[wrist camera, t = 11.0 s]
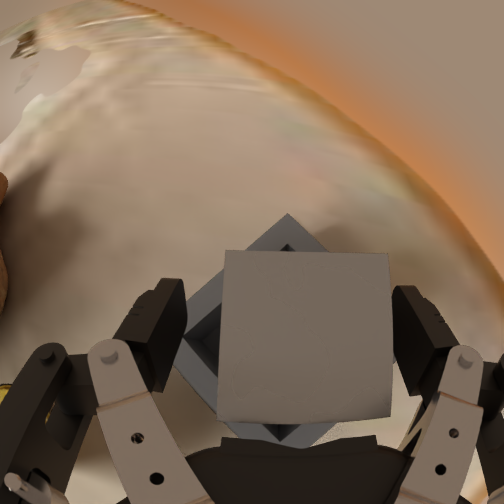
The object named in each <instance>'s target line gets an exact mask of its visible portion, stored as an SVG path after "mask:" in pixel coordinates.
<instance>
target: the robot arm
mask: <svg viewBox="0 0 504 504" xmlns="http://www.w3.org/2000/svg"><path fill="white" fill-rule="evenodd" d="M391 298H392V319H393V353H394V356H395V358H396V361H397V363H398V366H399V369H400V371H401V374H402V377H403V379H404V382H405V385H406V388H407V391H408V393H409V396H417V395H421V396H422V401H421V402H420V404H419V406H418V408H417V410H416V413H415V415H414V417H413V419H412V422H411V424H410V426H409V428H408V430H407V432H406V434H405V436H404V438H403V440H402V442H401V444H400V445H399V447H398V448H397V449H394V448H391V447H387V446H383V445H377V440H376V435H371V436H362V437H352V438H340V439H337V440H334V441H330V442H327V443H323V444H320V445H316V446H312V447H308V448H303V449H300V448H294V447H289V446H285V445H280V444H276V443H272V442H268V441H264V440H256V439H240V438H228V437H222V440H221V446H220V447H213V448H209V449H204V450H201V451H198V452H195V453H193V454H190V455H188V456H186V457H185V458H184V456H183V454H182V453H181V451H180V449H179V448H178V446H177V444H176V442H175V441H174V439H173V437H172V435H171V433H170V431H169V430H168V428H167V426H166V424H165V422H164V420H163V418H162V416H161V414H160V412H159V410H158V408H157V406H156V404H155V402H154V400H153V398H152V396H151V392H152V391H155V392H161V393H163V391H164V388H165V385H166V382H167V379H168V376H169V374H170V371H171V368H172V365H173V363H174V360H175V357H176V354H177V352H178V349H179V346H180V343H181V341H182V338H183V335H184V333H185V330H186V327H187V321H188V313H187V306H186V299H185V291H184V284H183V281H182V279H174V278H161V280H160V281H159V283H158V284H157V286H156V288H155V289H154V290H148V291H146V292H145V293H143V294H142V295H141V296H139V297H138V299H137V300H136V302H135V303H134V305H133V308H131V309H130V311H129V313H128V315H127V316H126V317H125V319H124V320H123V322H122V324H121V325H120V327H119V328H118V330H117V332H116V333H115V335H114V337H113V338H112V339H108V340H104V341H101V342H99V343H97V344H96V345H94V346H93V347H92V348H91V350H90V351H89V353H88V354H79V355H68V354H67V352H66V350H65V348H64V347H63V346H62V345H61V344H59V343H47V344H44V345H42V346H40V347H38V348H37V349H36V350H35V351H34V352H33V354H32V355H31V356H30V358H29V359H28V361H27V362H26V364H25V365H24V367H23V368H22V370H21V371H20V373H19V374H18V376H17V378H16V379H15V381H14V382H13V384H12V386H11V387H10V389H9V390H8V392H7V394H6V395H5V397H4V399H3V400H2V402H1V404H0V504H69V501H68V500H67V498H66V496H65V495H64V494H65V491H66V488H67V485H68V482H69V479H70V476H71V473H72V470H73V467H74V464H75V461H76V458H77V456H78V453H79V450H80V447H81V445H82V442H83V440H84V437H85V434H86V432H87V429H88V427H89V424H90V422H91V419H92V417H93V415H98V419H99V422H100V425H101V428H102V432H103V435H104V438H105V441H106V443H107V446H108V449H109V452H110V455H111V457H112V460H113V463H114V465H115V468H116V470H117V473H118V475H119V478H120V480H121V482H122V485H123V487H124V489H125V492H126V494H127V496H128V497H126V498H124V499H123V500H121V501H120V502H118V503H116V504H472V503H470V502H469V501H468V500H466V499H465V498H464V497H462V496H461V495H460V492H461V489H462V487H463V484H464V481H465V478H466V475H467V472H468V469H469V466H470V463H471V460H472V456H473V453H474V449H475V446H476V449H477V452H478V455H479V459H480V463H481V466H482V470H483V474H484V478H485V482H486V487H487V491H488V496H489V499H488V501H487V504H504V419H503V416H502V414H501V411H502V409H503V408H504V354H503V355H502V356H501V358H500V360H499V361H498V363H492V362H484V361H483V359H482V357H481V356H480V354H479V353H478V352H477V351H476V350H474V349H473V348H471V347H468V346H464V345H460V344H459V343H458V341H457V339H456V338H455V336H454V334H453V333H452V331H451V330H450V328H449V326H448V325H447V323H445V320H444V319H443V317H442V316H440V313H439V311H438V310H437V308H436V307H435V305H434V304H432V303H431V302H430V301H429V300H427V299H426V298H423V297H422V295H421V294H420V292H419V291H418V289H417V288H416V287H415V286H396V287H395V288H394V290H393V294H392V297H391ZM54 402H55V403H56V404H55V406H54V408H53V410H52V412H51V414H50V416H49V418H48V420H47V422H46V424H45V421H46V417H47V415H48V413H49V411H50V409H51V407H52V405H53V403H54Z"/></svg>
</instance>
